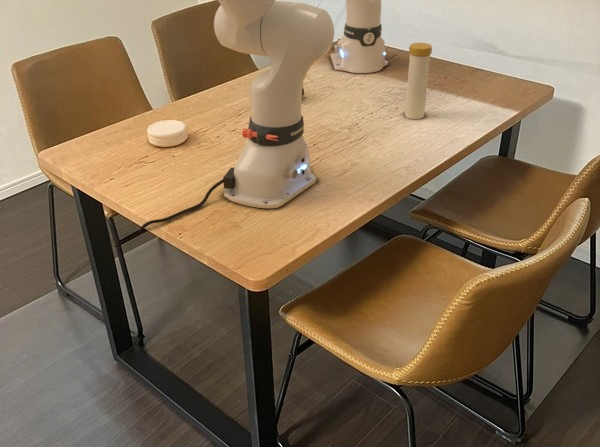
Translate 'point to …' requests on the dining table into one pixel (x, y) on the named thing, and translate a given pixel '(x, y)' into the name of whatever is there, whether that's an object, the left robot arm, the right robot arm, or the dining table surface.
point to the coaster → (167, 133)
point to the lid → (420, 49)
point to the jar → (417, 86)
